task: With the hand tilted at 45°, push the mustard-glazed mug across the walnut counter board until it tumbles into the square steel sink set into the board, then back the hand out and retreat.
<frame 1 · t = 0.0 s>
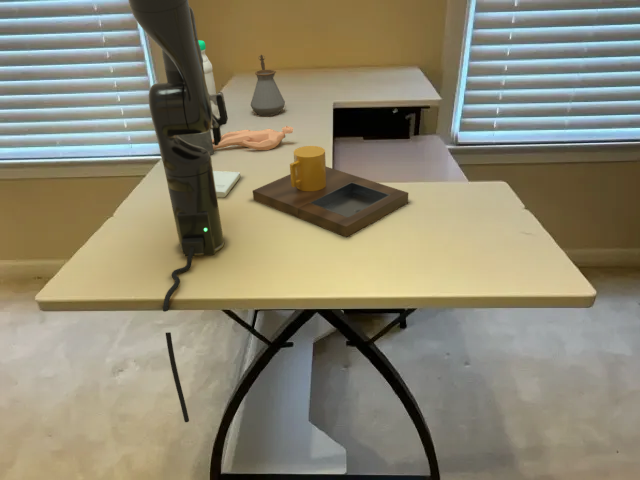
hand: (197, 145, 128), 17 cm above the table, tool pointing down, fingers open, 8 cm apart
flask: (188, 155, 172), on the table
male figurine: (252, 146, 176), on the table
counter: (329, 201, 143), on the table
water bottle: (209, 126, 192), on the table
coffee pot: (267, 108, 205), on the table
hard drive: (218, 187, 153), on the table
sink: (350, 208, 139), resting in counter
mug: (311, 185, 145), point 2 cm above the table, touching counter
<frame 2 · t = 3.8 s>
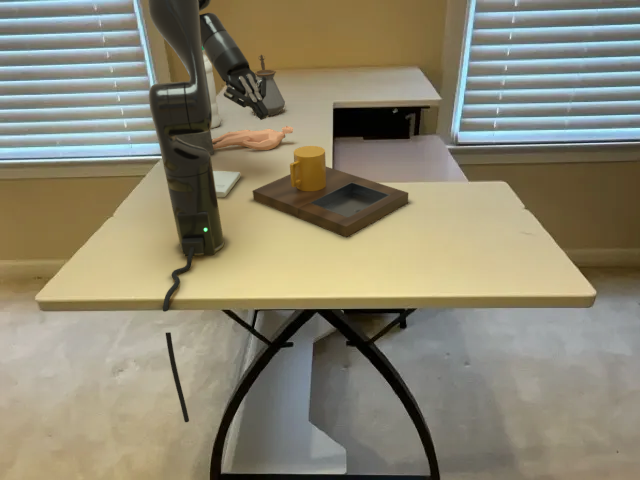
hand: (265, 117, 145), 16 cm above the table, tool tilted 45°, fingers closed
nothing on the table moved.
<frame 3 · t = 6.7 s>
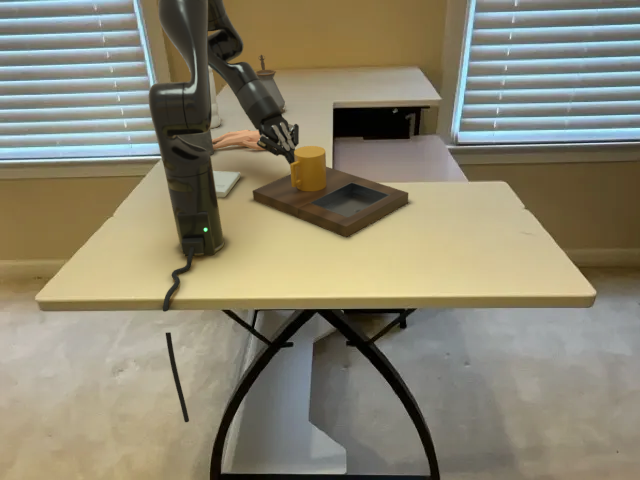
hand: (297, 165, 145), 6 cm above the table, tool tilted 45°, fingers closed
mug: (311, 185, 145), point 3 cm above the table, touching counter, gripper
everything else where it was.
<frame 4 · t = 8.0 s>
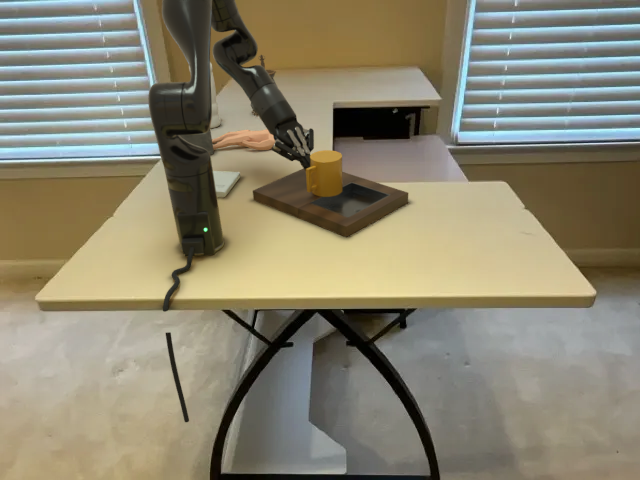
hand: (313, 170, 142), 6 cm above the table, tool tilted 45°, fingers closed
mug: (327, 190, 142), point 3 cm above the table, touching gripper
everything else where it was.
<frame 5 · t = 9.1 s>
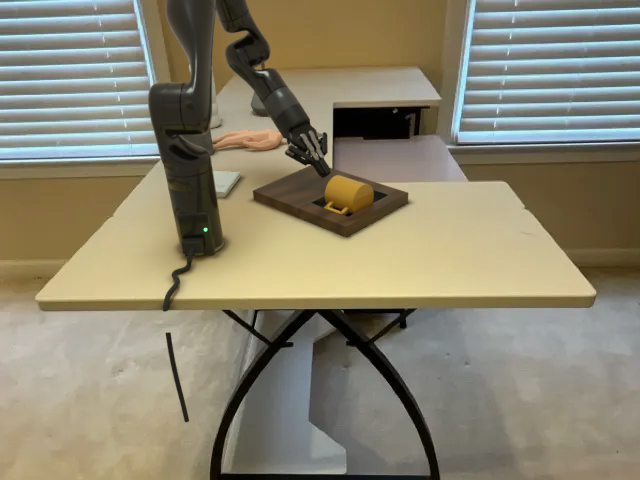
hand: (326, 175, 140), 6 cm above the table, tool tilted 45°, fingers closed
mug: (335, 191, 138), point 4 cm above the table, tilted 90°, touching sink
everything else where it was.
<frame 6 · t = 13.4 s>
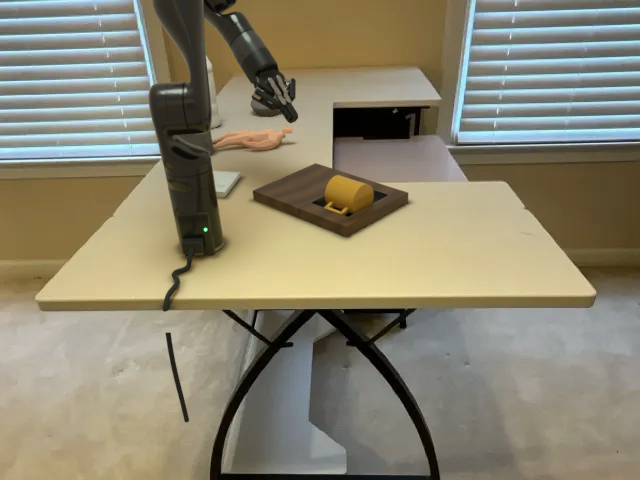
hand: (294, 120, 139), 17 cm above the table, tool tilted 45°, fingers closed
nothing on the table moved.
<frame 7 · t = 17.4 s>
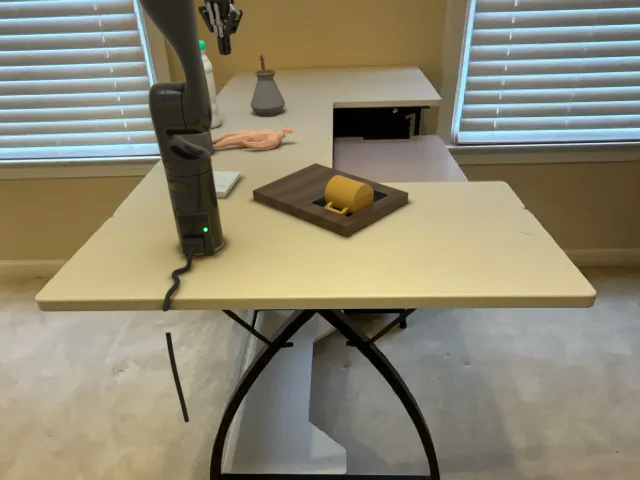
hand: (225, 54, 135), 31 cm above the table, tool pointing down, fingers closed
nothing on the table moved.
at the end: mug 3.6 cm from the sink (horizontally); mug point 3.9 cm above the table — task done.
